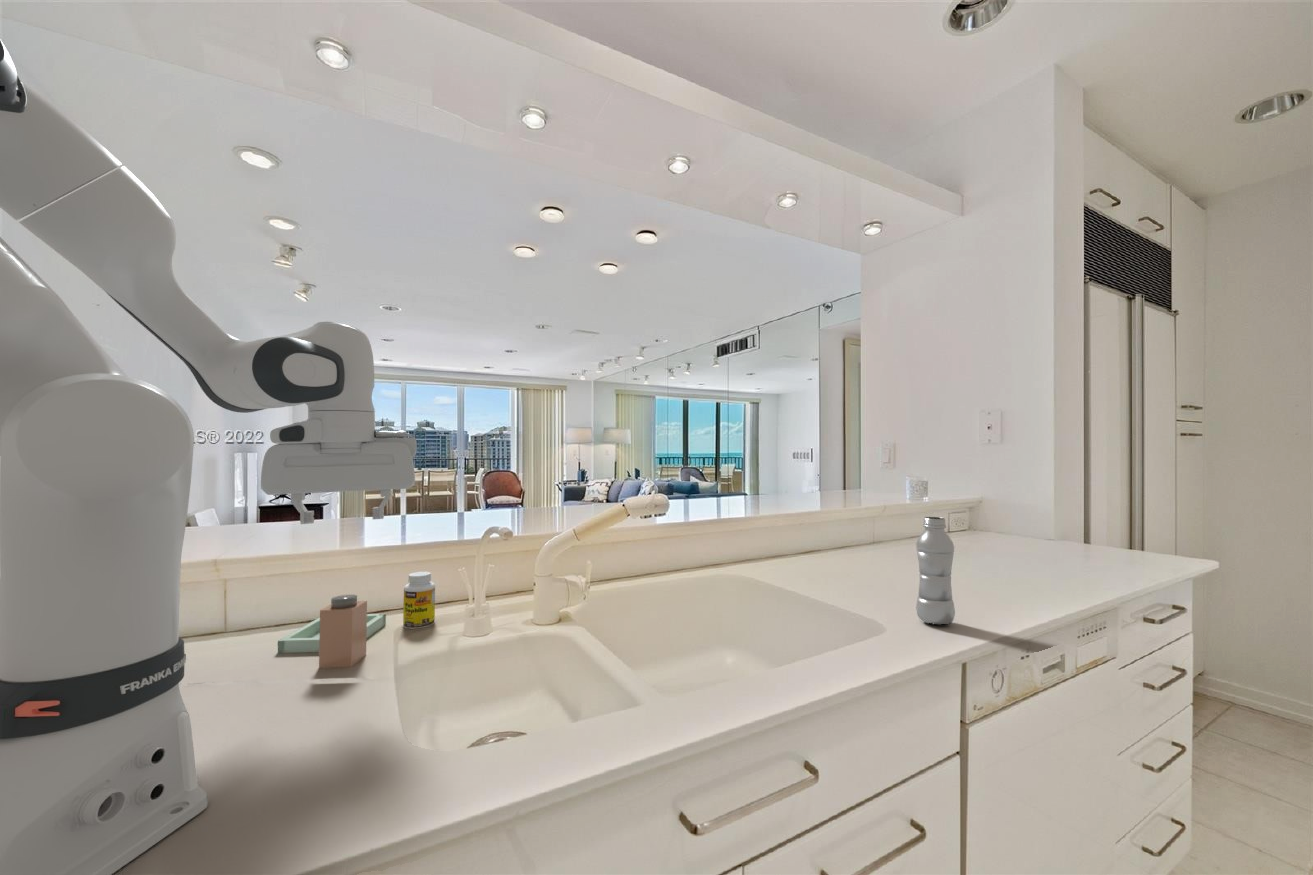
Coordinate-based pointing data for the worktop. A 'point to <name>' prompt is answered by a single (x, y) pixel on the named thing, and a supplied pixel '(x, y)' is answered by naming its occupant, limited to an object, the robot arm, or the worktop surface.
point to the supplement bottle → (419, 601)
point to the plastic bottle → (935, 573)
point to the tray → (310, 635)
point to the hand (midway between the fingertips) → (343, 521)
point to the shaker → (342, 632)
